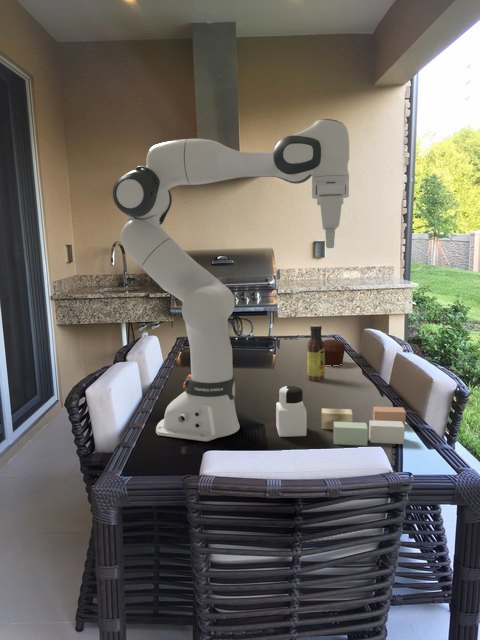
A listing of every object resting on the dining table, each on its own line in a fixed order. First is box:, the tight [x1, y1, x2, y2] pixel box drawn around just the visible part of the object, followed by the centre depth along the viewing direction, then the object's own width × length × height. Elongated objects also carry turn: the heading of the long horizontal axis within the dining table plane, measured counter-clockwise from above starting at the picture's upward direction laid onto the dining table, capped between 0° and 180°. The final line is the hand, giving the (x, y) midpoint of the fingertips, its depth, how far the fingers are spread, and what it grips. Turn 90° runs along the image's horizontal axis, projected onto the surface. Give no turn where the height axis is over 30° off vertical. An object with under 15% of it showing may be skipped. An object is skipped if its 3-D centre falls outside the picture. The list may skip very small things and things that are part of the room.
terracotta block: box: [372, 406, 407, 428], centre depth 135 cm, size 8×4×4 cm, turn 82°
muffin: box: [322, 338, 347, 366], centre depth 203 cm, size 12×11×10 cm
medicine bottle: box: [275, 385, 308, 438], centre depth 131 cm, size 7×7×12 cm
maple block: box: [321, 407, 353, 430], centre depth 134 cm, size 8×4×4 cm, turn 81°
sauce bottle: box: [306, 324, 326, 382], centre depth 180 cm, size 7×6×20 cm
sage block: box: [333, 421, 369, 447], centre depth 124 cm, size 8×4×4 cm, turn 81°
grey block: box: [368, 419, 406, 445], centre depth 125 cm, size 8×4×4 cm, turn 81°
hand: (329, 247), depth 123 cm, fingers open, 8 cm apart
